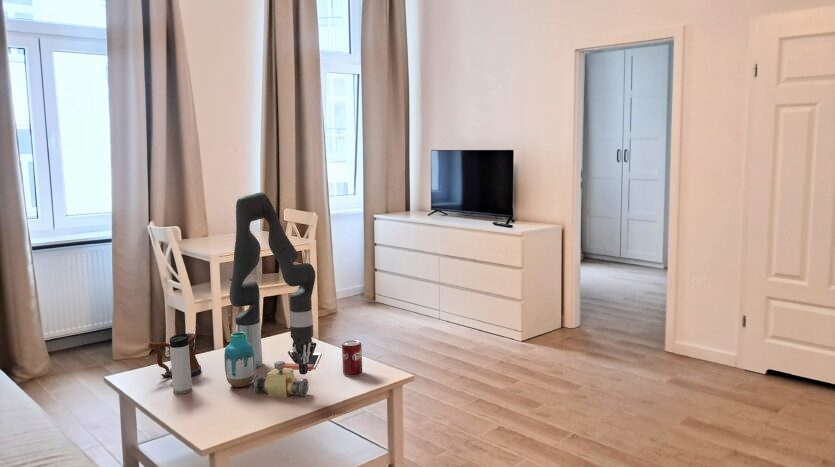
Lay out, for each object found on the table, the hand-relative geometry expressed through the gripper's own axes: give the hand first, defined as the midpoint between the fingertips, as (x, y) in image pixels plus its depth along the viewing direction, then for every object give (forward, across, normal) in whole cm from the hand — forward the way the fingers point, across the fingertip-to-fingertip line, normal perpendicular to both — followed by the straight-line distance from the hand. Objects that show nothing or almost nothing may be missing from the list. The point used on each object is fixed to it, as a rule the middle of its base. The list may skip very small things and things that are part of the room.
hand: (303, 373), depth 222 cm
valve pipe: (+9, +1, +11) cm, 14 cm away
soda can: (+9, +28, -1) cm, 29 cm away
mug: (+9, -1, +60) cm, 60 cm away
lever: (0, +2, +6) cm, 6 cm away
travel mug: (+9, -11, +45) cm, 47 cm away
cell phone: (+9, +32, +24) cm, 41 cm away
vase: (+9, +2, +29) cm, 31 cm away
